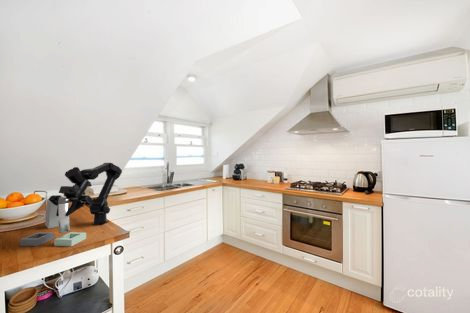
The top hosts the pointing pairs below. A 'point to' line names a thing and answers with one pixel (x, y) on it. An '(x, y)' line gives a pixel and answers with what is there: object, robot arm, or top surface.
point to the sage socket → (69, 239)
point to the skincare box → (51, 215)
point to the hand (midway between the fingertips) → (61, 215)
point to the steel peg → (64, 215)
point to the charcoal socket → (36, 239)
